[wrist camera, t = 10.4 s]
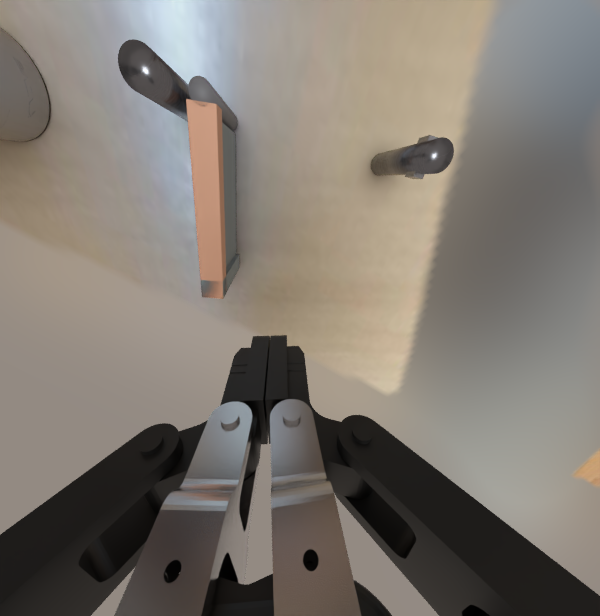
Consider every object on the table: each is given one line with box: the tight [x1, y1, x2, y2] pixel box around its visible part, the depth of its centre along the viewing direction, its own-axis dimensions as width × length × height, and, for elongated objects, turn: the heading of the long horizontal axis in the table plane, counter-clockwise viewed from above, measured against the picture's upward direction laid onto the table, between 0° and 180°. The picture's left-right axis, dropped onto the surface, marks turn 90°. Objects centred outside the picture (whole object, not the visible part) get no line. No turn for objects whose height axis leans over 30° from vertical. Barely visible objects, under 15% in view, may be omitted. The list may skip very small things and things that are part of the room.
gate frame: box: [118, 40, 454, 179], centre depth 21 cm, size 22×3×12 cm, turn 77°
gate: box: [186, 76, 239, 299], centre depth 24 cm, size 16×2×9 cm, turn 173°
